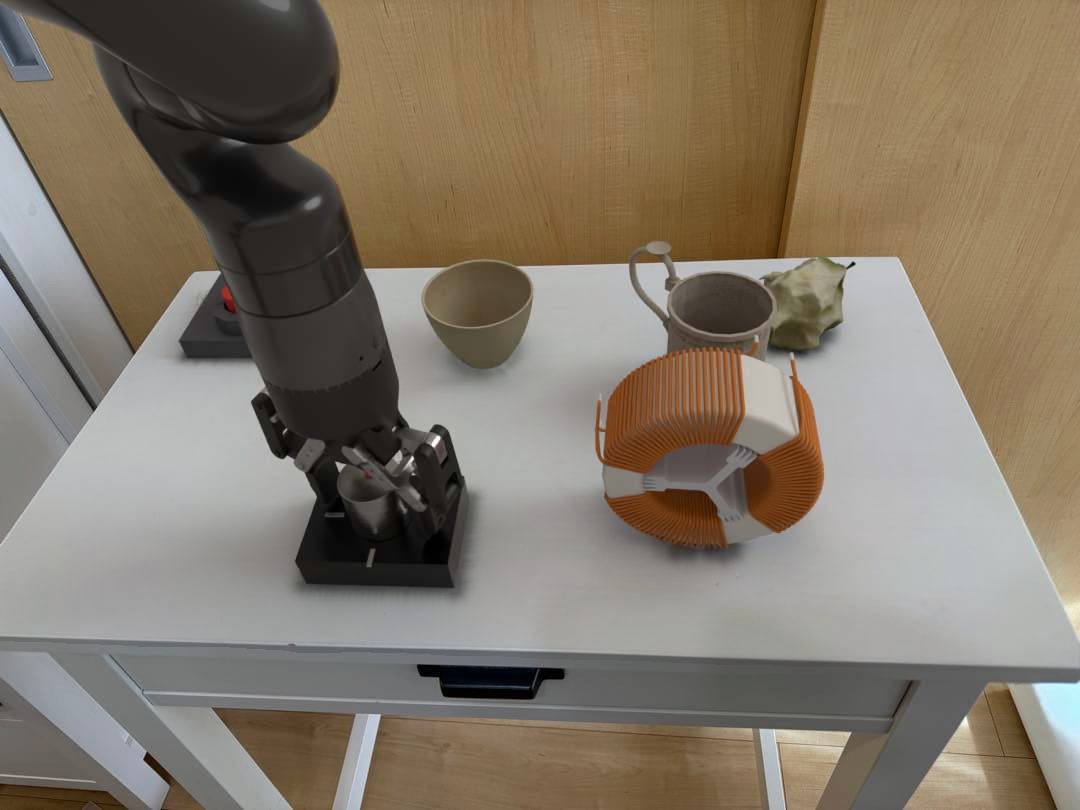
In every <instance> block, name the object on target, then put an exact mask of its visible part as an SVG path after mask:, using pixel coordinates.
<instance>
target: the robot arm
mask: <svg viewBox="0 0 1080 810" xmlns="http://www.w3.org/2000/svg"><path fill="white" fill-rule="evenodd" d="M0 6H2V7H4V8H6V9H8V10H11V11H13V12H15V13H17V14H21V15H23V16H27V17H29V18H33V19H36V20H38V21H42V22H45V23H47V24H51V25H54V26H56V27H60V28H62V29H64V30H67V31H69V32H71V33H73V34H75V35H77V36H80V37H81V38H83V39H85V40H87V41H89V42H90V43H91V47H92V52H93V56H94V61H95V63H96V66H97V69H98V71H99V74H100V76H101V79H102V81H103V84H104V86H105V89H106V90H107V92H108V94H109V96H110V98H111V100H112V102H113V104H114V106H115V107H116V109H117V111H118V112H119V114H120V116H121V117H122V119H123V120H124V122H125V123H126V125H127V127H128V128H129V130H130V132H132V134H133V136H134V137H135V138H136V140H137V141H138V143H139V144H140V145H141V146H142V148H143V150H144V151H145V153H146V154H147V156H148V157H149V158H150V160H151V161H152V163H153V164H154V166H155V167H156V168H157V170H158V172H159V173H160V175H161V176H162V177H163V178H164V180H165V181H166V183H167V184H168V186H169V187H170V189H171V190H172V191H173V192H174V194H175V195H176V196H177V197H178V199H179V201H181V203H183V205H184V206H185V207H186V208H187V210H188V211H189V212H190V213H191V215H192V216H193V218H194V219H195V220H196V221H197V223H198V225H199V227H200V228H201V229H202V231H203V233H204V236H205V237H206V240H207V243H208V247H209V248H210V251H211V253H212V256H213V259H214V261H215V263H216V265H217V267H218V269H219V272H220V274H222V277H223V279H224V281H225V283H226V286H227V288H228V290H229V293H230V295H231V297H232V299H233V302H234V305H235V308H236V311H237V315H238V320H239V324H240V327H241V330H242V333H243V336H244V338H245V341H246V343H247V346H248V348H249V350H250V352H251V355H252V357H251V358H252V359H253V361H254V363H255V366H256V368H257V370H258V373H259V375H260V378H261V380H262V381H263V384H264V387H263V388H262V389H261V390H260V391H259V392H258V393H257V394H256V395H255V396H254V397H253V398H252V399H251V400H250V404H251V407H252V409H253V411H254V413H255V414H254V415H255V416H256V419H257V421H258V425H259V426H260V428H261V431H262V433H263V435H264V438H265V440H266V443H267V445H268V449H269V450H270V452H271V453H272V455H273V456H274V457H276V458H278V459H279V460H285V459H286V458H287V457H288V458H291V459H292V460H293V464H294V467H296V469H298V470H299V471H300V472H303V473H304V475H305V478H306V479H307V482H308V483H309V487H310V488H311V490H312V492H314V494H315V496H316V498H317V499H318V501H320V502H322V503H325V504H330V503H331V502H332V501H333V499H334V498H335V497H336V495H337V494H338V493H339V491H338V488H337V479H338V476H339V473H340V472H341V471H340V470H339V468H338V465H337V463H339V464H342V465H346V464H347V465H352V466H354V467H356V468H358V469H360V470H362V471H365V472H367V473H368V474H369V475H370V476H371V477H372V478H373V479H374V480H375V481H376V482H377V483H378V484H379V485H380V486H381V487H382V488H383V489H384V490H385V491H387V492H392V491H396V492H397V493H398V494H399V495H400V496H401V497H402V498H403V499H404V500H405V501H406V502H407V503H408V504H409V505H410V507H409V510H410V514H411V517H412V520H413V523H414V527H415V530H416V533H417V536H418V537H419V538H422V539H425V540H429V539H430V538H431V536H432V535H434V536H435V534H436V533H437V531H438V530H439V528H440V527H441V525H442V523H443V522H444V520H445V518H446V516H445V514H446V513H447V511H448V510H449V508H450V506H451V504H452V503H453V501H454V499H455V498H456V496H457V495H458V493H459V492H460V491H461V490H462V488H463V487H464V481H463V477H462V476H463V474H462V471H461V467H460V465H459V461H458V458H457V454H456V450H455V447H454V444H453V440H452V437H451V433H450V431H449V430H448V428H447V427H445V426H444V425H442V424H439V423H434V424H433V426H432V427H431V428H430V429H429V431H423V430H418V429H415V428H411V426H410V425H409V423H408V421H407V420H406V418H404V417H403V415H402V413H401V412H400V410H399V395H400V381H399V375H398V371H397V369H396V365H395V361H394V357H393V353H392V351H391V347H390V343H389V339H388V335H387V332H386V328H385V323H384V320H383V318H382V317H383V316H382V313H381V310H380V305H379V303H378V298H377V296H376V293H375V291H374V288H373V285H372V283H371V281H370V279H369V277H368V275H367V272H366V270H365V268H364V265H363V262H362V258H361V253H360V251H359V247H358V243H357V240H356V236H355V232H354V229H353V225H352V221H351V218H350V215H349V212H348V209H347V206H346V202H345V200H344V196H343V194H342V191H341V188H340V187H339V185H338V183H337V181H336V179H335V178H334V176H333V175H332V174H331V173H330V172H329V171H328V170H327V169H325V168H324V167H323V166H321V165H320V164H319V163H317V162H316V161H314V160H313V159H312V158H309V157H308V156H306V155H305V154H303V153H301V152H300V151H298V150H297V149H296V148H295V147H293V146H292V145H291V144H290V142H293V141H296V140H299V139H301V138H303V137H305V136H307V135H308V134H310V133H311V132H312V131H313V130H315V129H316V128H318V126H319V125H320V124H321V123H322V122H323V121H324V120H325V119H326V117H327V116H328V114H329V113H330V111H331V110H332V108H333V106H334V103H335V101H336V99H337V96H338V92H339V88H340V82H341V60H340V59H341V58H340V51H339V46H338V41H337V38H336V34H335V32H334V28H333V26H332V24H331V21H330V19H329V17H328V15H327V13H326V11H325V9H324V7H323V5H322V4H321V2H320V1H319V0H0ZM398 452H400V453H401V460H400V461H399V463H397V464H398V466H397V467H396V468H395V470H394V471H393V472H392V474H391V473H390V472H389V471H388V470H387V469H386V468H385V466H386V465H387V464H388V463H389V462H390V460H391V459H392V458H393V459H394V457H396V455H397V454H398ZM411 475H416V476H417V477H418V478H419V479H420V480H421V481H422V482H421V484H420V485H419V486H418V488H417V489H416V490H415V489H414V488H413V487H412V486H411V485H410V483H409V477H410V476H411Z"/></svg>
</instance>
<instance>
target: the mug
mask: <svg viewBox="0 0 1080 810" xmlns="http://www.w3.org/2000/svg"><path fill="white" fill-rule="evenodd" d="M671 250H672V246H671V244H669V243H668V242H666V241H662V240H661V241H660V240H655V241H650V242H648V243H647V245H646V246H639V247H637V248H636V249H634V251H632V252H631V255H630V257H629V263H628V272H629V273H628V274H629V278H630V282H631V285H632V288H633V290H634V291H635V293H636V294H637V297H638V298H639V299H640V300H641V301H642V302H643V303H644V304H645V305H646V307H648V308H649V309H650V310H651V311H652V312H653V314H655V315H656V316H657V317H658V318H659V320H660V321H661V323H662V326H663V328H664V329H665V331H666V333H667V345H666V355H667V356H668V357H669V353H673V354H674V355H675V352H676V351H679V352H680V354H681V355H682V350H686V352H687V353H688V351H689V349H692V350H693V352H695V349H696V348H699V351H700V352H702V348H703V347H705V348H706V352H709V348H710V347H712V348H713V351H715V349H716V348H717V347H718V348H720V351H722V349H723V348H726V349H727V352H728V350H729V349H733V351H734V352H735V351H736V350H740V353H741V355H747V354H748V353H749V352H750V350H751V349H752V348H753V347H754V345H755V340H754V336H755V335H758V340H759V346H758V348H757V349H756V351H755V352H754V353H753V355H752V356H751V357H752V358H755V359H758V360H760V361H763V362H765V361H766V355H767V350H768V345H769V343H768V340H769V335H770V329H771V325H772V323H773V321H774V319H775V317H776V313H777V303H776V299H775V297H774V295H773V294H772V292H771V290H769V289H768V288H767V287H766V286H765V285H764V283H763V282H761V281H760V280H757V279H755V278H753V277H751V276H749V275H746V274H741V273H737V272H733V271H724V270H721V271H720V270H711V271H705V272H704V271H703V272H698V273H695V274H692V275H689V276H687V277H684V278H682V279H681V278H680V277H678V276H677V270H676V268H675V264H674V262H673V260H672V259H671V258H670V256H669V255H668V253H670V252H671ZM641 254H651V255H653V256H655V257H657V258H658V259H659V260H660V261H661V262H662V263H663V264H664V266H665V267H666V269H667V273H668V277H666V278H665V280H664V290H665V291H667V292H669V293H668V294H667V303H666V311H667V314H668V315H667V314H666V313H665V312H664V310H663V309H662V308H661V307H660V306H659V305H658V304H657V303H655V301H653V300H652V298H651V297H650V296H649V295H648V294H647V293H646V292H645V290H644V289H643V287H642V285H641V283H640V281H639V278H638V274H637V258H638V257H639V255H641Z"/></svg>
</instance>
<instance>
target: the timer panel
mask: <svg viewBox="0 0 1080 810" xmlns="http://www.w3.org/2000/svg"><path fill="white" fill-rule="evenodd" d="M462 477H463V481H464V487H463V488H462V490H461V491H460V492H459V493H458V495H457V496H456V498H455V499H454V501H453V503H452V504H451V506H450V508H449V510H448V511H447V513H446V514H445V516H446V518H445V520H444V522H443V523H442V525H441V527H440V528H439V530H438V531H437V533H436V534H435V536H434V535H432V536H431V538H430V539H429V540H425V539H422V538H419V537H418V536H417V533H416V530H415V527H414V523H413V520H412V517H411V520H410V522H409V524H408V525H407V527H406V528H405V529H404V530H403V531H402V532H401V533H399V534H398V535H396V536H394V537H392V538H390V539H387V540H382V541H371V540H367V539H364V538H362V537H361V536H359V535H358V534H357V533H356V531H355V530H354V528H353V525H352V523H351V520H350V518H349V516H348V513H347V511H346V508H345V506H344V503H343V501H342V498H341V496H340V493H338V494H337V495H336V497H335V498H334V499H333V501H332V502H331V503H330V504H325V503H322V502H320V501H318V499H317V497H316V499H315V502H314V504H313V507H312V510H311V513H310V516H309V518H308V522H307V525H306V526H305V530H304V533H303V536H302V538H301V541H300V544H299V546H298V550H297V553H296V556H295V558H294V563H295V565H296V567H297V569H298V571H299V573H300V574H301V576H302V578H303V580H304V582H305V584H306V585H332V586H333V585H334V586H360V587H361V586H363V587H365V586H367V587H368V586H369V587H402V588H405V587H407V588H436V589H455V584H456V579H457V572H458V568H459V561H460V556H461V549H462V544H463V537H464V532H465V527H466V520H467V514H468V510H469V503H470V497H469V493H468V488H467V483H466V478H465V475H462ZM421 482H422V481H421V480H420V479H419V478H418V477H417V476H416V475H415V474H412V475H411V476H410V477H409V483H410V485H411V486H412V487H413V488H414V489H415V490H416V489H417V488H418V486H419V485H420V484H421Z"/></svg>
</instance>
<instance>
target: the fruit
mask: <svg viewBox="0 0 1080 810" xmlns="http://www.w3.org/2000/svg"><path fill="white" fill-rule="evenodd" d="M856 264H857V263H856V262H855V261H854V260H853V261H851V262H850V263H849V265H847V266H846V265H845V264H841V263H839V262H838V263H836V262H835V261H833V260H831V259H830V258H828V257H827V256H825V255H823V254H820V255H819V256H818V257H817V258H815V257H810V258H809V259H807V260H804V261H802V263H801V264H799V265H797V266H795V268H793V269H788V270H786V271H784V272H782V271H771V272H770V273H766V274H764V275H762V276H760V278H759V279H758V281H762V280H763V285H765V286H766V287H767V288H768V289H769V290H771V292H772V294H773V295H774V297H775V299H776V303H777V313H776V317H775V319H774V321H773V323H772V325H771V329H770V335H769V340H768V344H769V345H771V346H773V347H775V348H779V349H783V350H788V351H797V352H798V351H799V352H803V351H804V352H805V351H809V350H811V349H812V350H813V349H817V348H818V347H819V346H820V344H821V343H820V339H821V338H822V337H823V335H824V334H825V333H826V332H827V331H829V330H832V329H835V328H836V327H838V326H839V325H841V324H842V323H843V322H844V314H843V297H844V292H845V291H844V280H845V277H846V275H847V271H848V270H849V269H851V268H852V267H853V268H854V266H856Z"/></svg>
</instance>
